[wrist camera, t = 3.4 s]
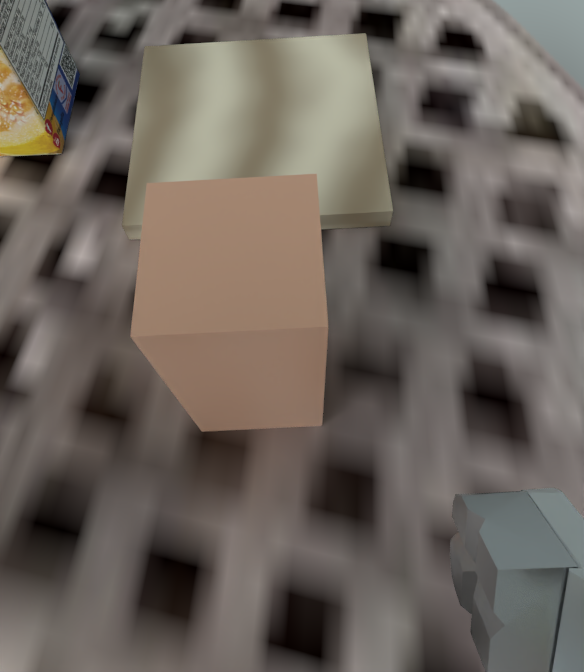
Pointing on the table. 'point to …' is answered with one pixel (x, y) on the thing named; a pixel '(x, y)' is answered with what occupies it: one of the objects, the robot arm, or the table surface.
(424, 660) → the table surface
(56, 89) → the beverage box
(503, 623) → the robot arm
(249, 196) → the terracotta block
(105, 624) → the table surface
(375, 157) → the placemat
